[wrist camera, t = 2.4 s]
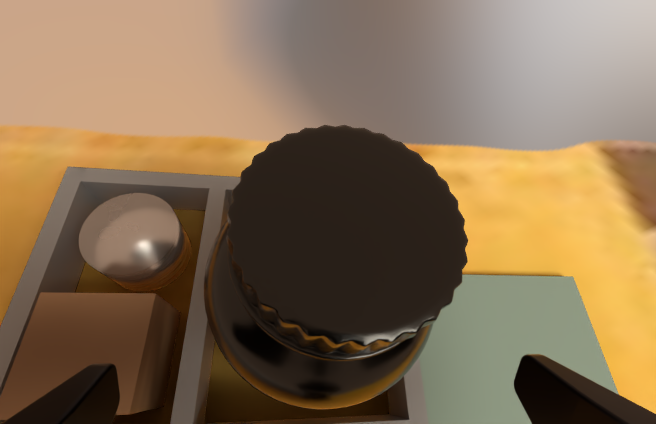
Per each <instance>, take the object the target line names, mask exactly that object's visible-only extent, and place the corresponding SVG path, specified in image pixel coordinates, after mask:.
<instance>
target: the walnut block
mask: <svg viewBox="0 0 656 424" xmlns="http://www.w3.org/2000/svg"><path fill="white" fill-rule="evenodd" d="M180 313H181V312H179V311H178V310H177V309H176V308H174V307H173V306H172V305H170V304H169V303H168V302H166V301H165V300H164V299H162V298H161V297H160V296H159V295H157V294H156V293H44V292H40V295H39V298H38V300H37V303H36V305H35V308H34V311H33V313H32V316H31V318H30V321H29V324H28V326H27V329H26V332H25V334H24V337H23V339H22V342H21V345H20V347H19V350H18V352H17V355H16V358H15V360H14V363H13V365H12V368H11V371H10V373H9V376H8V378H7V381H6V384H5V386H4V389H3V391H2V394H1V397H0V420H7V419H8V418H10V417H11V416H13V415H14V414H16V413H17V412H19V411H20V410H22V409H23V408H25V407H26V406H28V405H30V404H31V403H33V402H34V401H36V400H37V399H39V398H40V397H42V396H43V395H45V394H46V393H48V392H49V391H51V390H52V389H54V388H55V387H57V386H58V385H60V384H61V383H63V382H64V381H66V380H67V379H69V378H70V377H72V376H73V375H75V374H76V373H78V372H79V371H81V370H82V369H84V368H85V367H87V366H89V365H91V364H101V363H112V364H114V365H115V366H116V369H117V375H118V383H119V391H120V401H119V406H118V409H117V412H116V414H115V415H128V414H133V413H138V412H142V411H147V410H151V409H155V408H160V407H164V403H165V397H166V392H167V386H168V381H169V375H170V369H171V364H172V358H173V353H174V347H175V341H176V336H177V330H178V324H179V319H180Z"/></svg>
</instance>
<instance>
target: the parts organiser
mask: <svg viewBox="0 0 656 424" xmlns="http://www.w3.org/2000/svg"><path fill="white" fill-rule="evenodd" d="M240 178H241V177H229V176H213V175H196V174H180V173H164V172H147V171H131V170H115V169H98V168H82V167H67V170H66V172H65V174H64V177H63V179H62V182H61V184H60V186H59V189H58V191H57V193H56V196H55V198H54V201H53V203H52V205H51V208H50V210H49V212H48V215H47V217H46V220H45V222H44V224H43V227H42V229H41V231H40V234H39V236H38V239H37V241H36V243H35V246H34V248H33V250H32V253H31V255H30V258H29V260H28V262H27V265H26V267H25V269H24V272H23V274H22V277H21V279H20V281H19V284H18V286H17V288H16V291H15V293H14V296H13V298H12V300H11V303H10V305H9V307H8V310H7V312H6V315H5V317H4V319H3V322H2V324H1V326H0V397H1V394H2V391H3V389H4V386H5V384H6V381H7V378H8V376H9V373H10V371H11V368H12V365H13V363H14V360H15V358H16V355H17V352H18V350H19V347H20V345H21V342H22V339H23V337H24V334H25V332H26V329H27V326H28V324H29V321H30V318H31V316H32V313H33V311H34V308H35V305H36V303H37V300H38V298H39V295H40V292H44V293H75V290H76V287H77V284H78V281H79V278H80V275H81V272H82V269H83V267H84V264H85V260H84V258H83V256H82V254H81V252H80V249H79V234H80V231H81V228H82V226H83V224H84V222H85V220H86V219H87V217H88V216H89V215H90V214H91V213H92V212H93V211H94V210H95V209H96V208H97V207H98V206H100V205H101V204H103V203H104V202H106V201H108V200H110V199H112V198H114V197H117V196H120V195H124V194H130V193H145V194H150V195H154V196H157V197H159V198H161V199H162V200H164V201H165V202H167V203H168V204H169V205H170V206H171V208H172V209H182V210H204V211H206V212H205V218H204V224H203V230H202V236H201V242H200V248H199V254H198V260H197V266H196V272H195V278H194V284H193V290H192V296H191V302H190V308H189V314H188V320H187V326H186V332H185V338H184V344H183V350H182V356H181V362H180V368H179V374H178V380H177V386H176V392H175V398H174V404H173V410H172V416H171V422H170V424H204V422H205V414H206V406H207V398H208V390H209V382H210V374H211V366H212V358H213V350H214V342H215V338H214V336H213V334H212V331H211V328H210V326H209V323H208V319H207V315H206V310H205V303H204V276H205V270H206V264H207V260H208V257H209V254H210V250H211V248H212V245H213V243H214V241H215V239H216V237H217V235H218V233H219V231H220V229H221V228H222V227H223V225H224V224H225V222H226V221H227V212H228V210H229V208H230V206H231V204H232V191H233V190H234V188H235V187H236V186H237V185H238V184H239V183H240ZM387 394H388V404H389V414H388V415H368V416H347V417H327V418H307V419H287V420H266V421H246V422H226V423H205V424H429V423H428V416H427V409H426V402H425V396H424V389H423V382H422V375H421V368H420V361H419V358H418V360H417V361H416V362H415V364H414V365H413V366H412V367H411V369H410V370H409V371H408V372H407V373H406V374H405V375H404V376H403V377H402V378H401V379H400V380H399V381H398V382H397V383H396V384H394V385H393V386H392V387H391V388H389V389H388V390H387ZM4 421H5V420H0V424H1V423H2V422H4Z"/></svg>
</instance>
